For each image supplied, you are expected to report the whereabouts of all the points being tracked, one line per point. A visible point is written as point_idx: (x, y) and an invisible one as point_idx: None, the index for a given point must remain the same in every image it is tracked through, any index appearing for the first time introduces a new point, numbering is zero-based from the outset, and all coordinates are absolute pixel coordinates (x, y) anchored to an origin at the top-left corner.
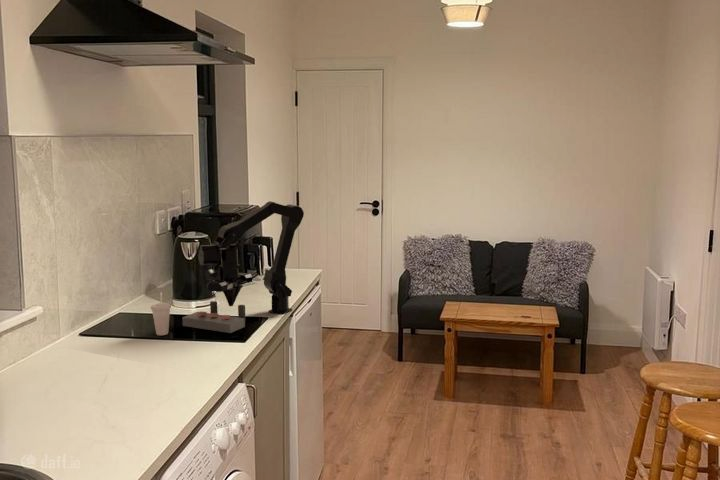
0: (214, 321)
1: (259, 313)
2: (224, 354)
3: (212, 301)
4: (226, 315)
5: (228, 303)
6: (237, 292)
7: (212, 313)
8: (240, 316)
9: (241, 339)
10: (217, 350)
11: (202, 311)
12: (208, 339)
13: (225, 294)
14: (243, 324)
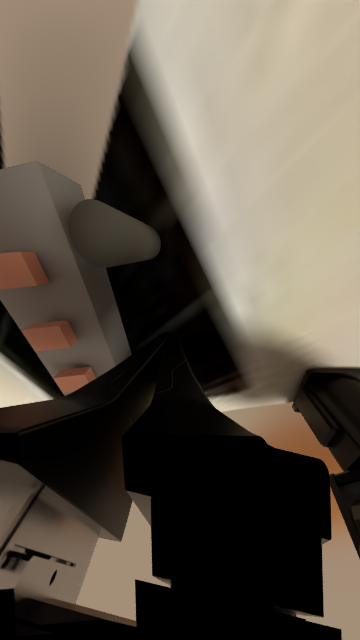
0: (44, 358)
1: (285, 350)
2: None
3: (99, 210)
4: (74, 387)
5: (154, 340)
6: (178, 454)
7: (43, 334)
8: None
9: None
10: None
11: (20, 255)
12: (27, 368)
13: (102, 385)
14: None
